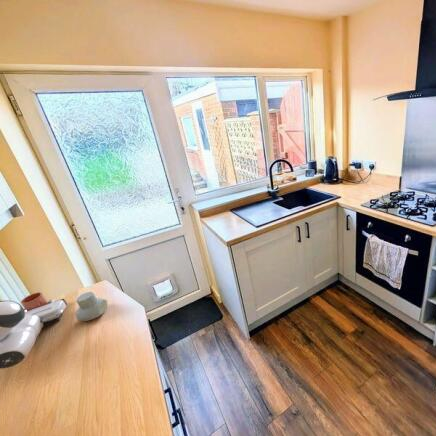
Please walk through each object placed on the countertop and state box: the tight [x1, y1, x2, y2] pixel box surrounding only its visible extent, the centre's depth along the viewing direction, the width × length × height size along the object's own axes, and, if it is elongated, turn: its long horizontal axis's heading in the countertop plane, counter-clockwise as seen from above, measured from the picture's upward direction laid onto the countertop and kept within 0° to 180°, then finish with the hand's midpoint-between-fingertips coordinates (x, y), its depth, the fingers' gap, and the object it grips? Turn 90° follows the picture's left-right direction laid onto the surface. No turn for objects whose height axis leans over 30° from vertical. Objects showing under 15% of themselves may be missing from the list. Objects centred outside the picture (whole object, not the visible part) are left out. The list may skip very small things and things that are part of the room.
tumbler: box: [20, 291, 49, 311], centre depth 103 cm, size 6×6×11 cm
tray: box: [42, 298, 68, 328], centre depth 105 cm, size 12×12×3 cm
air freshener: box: [75, 291, 108, 322], centre depth 102 cm, size 11×8×10 cm
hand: (38, 305), depth 104 cm, fingers open, 8 cm apart
